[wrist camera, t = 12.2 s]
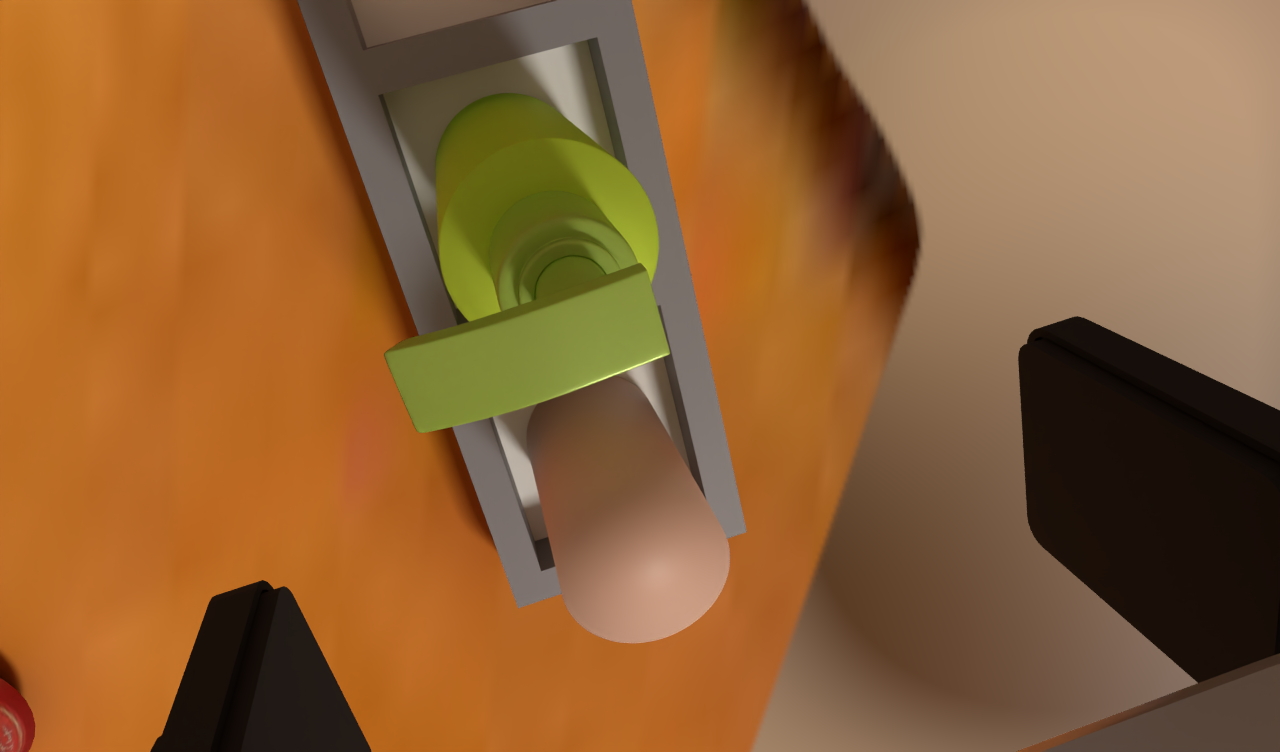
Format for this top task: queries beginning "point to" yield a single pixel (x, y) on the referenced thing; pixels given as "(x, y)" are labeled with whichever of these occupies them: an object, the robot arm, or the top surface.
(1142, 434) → the robot arm
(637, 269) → the soap dispenser
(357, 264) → the top surface
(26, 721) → the liquor
